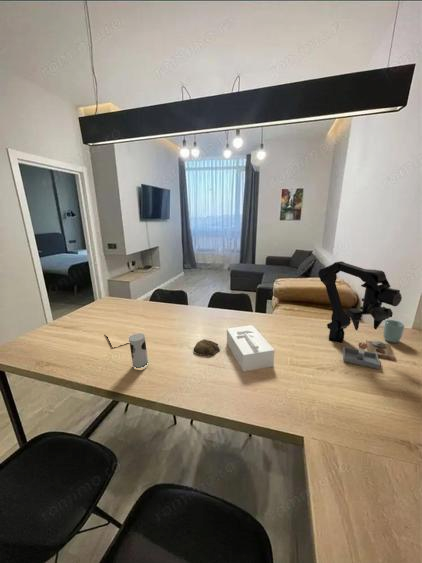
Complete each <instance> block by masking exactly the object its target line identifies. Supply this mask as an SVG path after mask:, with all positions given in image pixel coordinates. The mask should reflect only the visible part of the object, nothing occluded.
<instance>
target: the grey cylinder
mask: <svg viewBox="0 0 422 563" xmlns="http://www.w3.org/2000/svg"><path fill="white" fill-rule="evenodd" d="M133 334H134V333H133ZM129 342H130V343H129V348H130V354H131V356H130V357H131V362H132V367H133V366H134V367H136V368H141V367H144V366H145V365H147V363H148V364H149V360H148V352H147V343H146V335H145V334H144V333H135V334H134V335H132V336H130V337H129Z"/></svg>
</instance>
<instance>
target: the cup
mask: <svg viewBox="0 0 422 563" xmlns="http://www.w3.org/2000/svg"><path fill="white" fill-rule="evenodd" d="M384 321H385V322H384V326H383V332H382V333H383V338H384V340H386V341H387V342H389V343H393V344H394V343H398V342H401V339H402V337H403V333H404V329H405V324H404V323H402V322H400V321H398V320H394V319H385V320H384Z"/></svg>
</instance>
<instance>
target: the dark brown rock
mask: <svg viewBox="0 0 422 563" xmlns="http://www.w3.org/2000/svg"><path fill="white" fill-rule="evenodd" d="M220 350H221V349H220V347H219V344H218V343H216V342H214V341H212V340H209V339H204V338H203V339H202V340H199V341H198V342H196V344H195V346H194V347H193V353H194V352H195V353H194V354H196V353H197V355H200V354H201V355H200V356H203V355H205V356H207V355H212V356H214V355H216V353H217V352H220Z"/></svg>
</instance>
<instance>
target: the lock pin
mask: <svg viewBox="0 0 422 563" xmlns="http://www.w3.org/2000/svg"><path fill="white" fill-rule="evenodd" d="M357 346H358V350H359V351H358V356H357V359H358V360H363V359H364V353H365V351H366V350H367V345H366V342H365V343H364V342H359V343H358V345H357Z"/></svg>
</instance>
